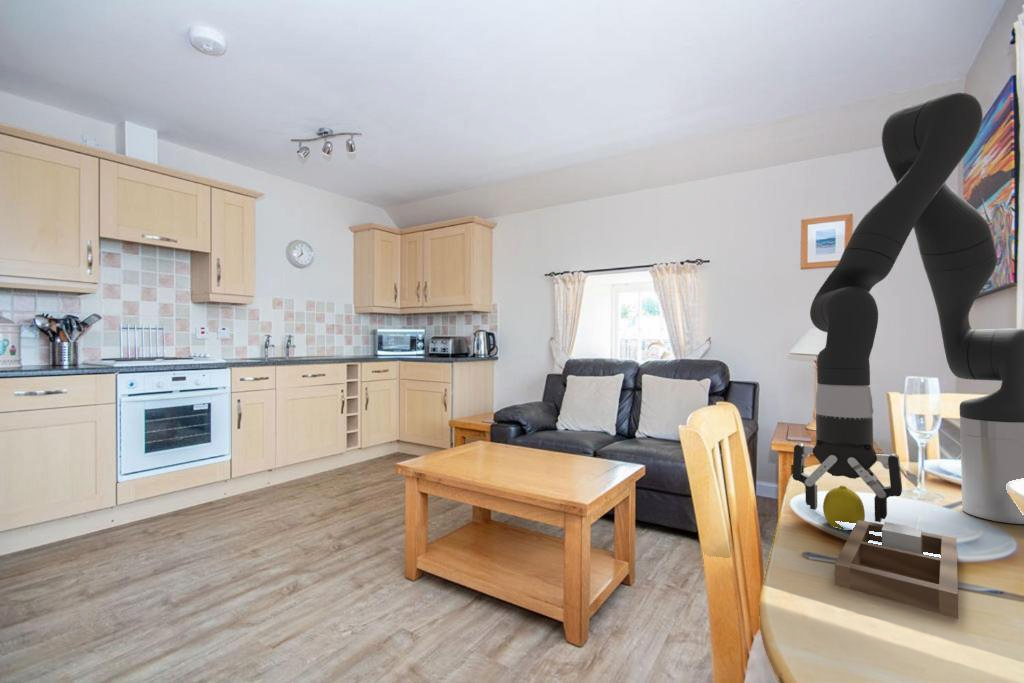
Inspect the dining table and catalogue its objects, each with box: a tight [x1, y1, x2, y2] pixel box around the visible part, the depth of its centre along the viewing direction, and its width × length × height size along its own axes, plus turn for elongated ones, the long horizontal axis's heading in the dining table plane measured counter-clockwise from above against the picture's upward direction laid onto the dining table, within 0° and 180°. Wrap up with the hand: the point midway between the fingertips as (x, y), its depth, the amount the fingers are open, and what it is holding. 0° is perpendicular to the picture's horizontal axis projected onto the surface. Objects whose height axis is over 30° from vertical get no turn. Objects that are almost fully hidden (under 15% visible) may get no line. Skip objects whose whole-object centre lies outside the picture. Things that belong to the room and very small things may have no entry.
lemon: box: [822, 485, 866, 529], centre depth 77 cm, size 6×6×8 cm
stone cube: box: [882, 521, 923, 554], centre depth 65 cm, size 4×4×4 cm
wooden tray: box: [834, 520, 959, 619], centre depth 62 cm, size 20×11×4 cm, turn 137°
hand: (845, 514), depth 77 cm, fingers open, 8 cm apart
